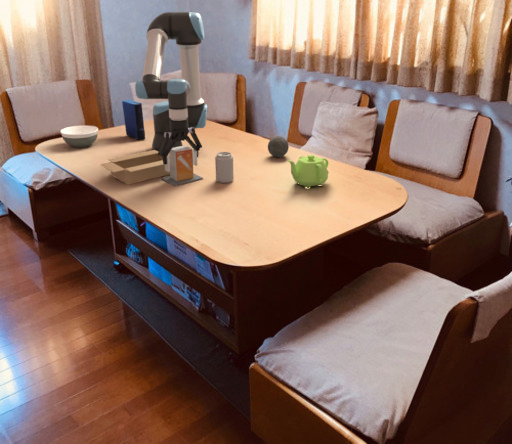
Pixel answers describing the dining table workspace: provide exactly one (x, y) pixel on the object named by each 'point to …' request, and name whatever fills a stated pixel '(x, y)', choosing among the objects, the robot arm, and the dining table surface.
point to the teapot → (310, 170)
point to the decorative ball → (278, 146)
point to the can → (224, 167)
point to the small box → (181, 163)
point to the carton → (137, 167)
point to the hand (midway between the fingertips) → (181, 168)
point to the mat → (176, 183)
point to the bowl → (79, 135)
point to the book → (133, 119)
